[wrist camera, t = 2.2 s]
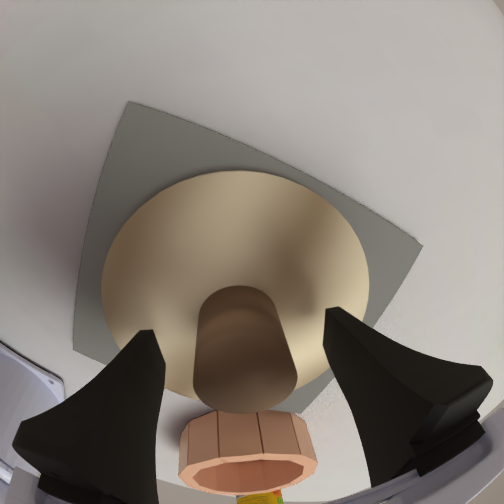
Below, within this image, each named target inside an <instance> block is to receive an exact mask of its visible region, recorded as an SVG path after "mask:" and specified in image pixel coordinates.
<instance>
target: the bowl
mask: <svg viewBox="0 0 504 504" xmlns="http://www.w3.org/2000/svg"><path fill="white" fill-rule="evenodd" d="M317 463H318V462H317V458H316V455H315V452H314V448H313V445H312V442H311V439H310V435H309V432H308V429H307V425H306V422H305V421H303V420H302V419H300V418H299V417H298V416H296V415H295V414H294V413H291V412H283V411H275V410H268V409H267V410H264V411H260V412H255V413H248V414H233V413H226V412H222V411H219V410H218V411H217V410H216V411H213V412H211V413H208V414H206V415H203V416H201V417H198V418H196V419H193V420H191V421H190V422H188V424H187V425H186V427H185V429H184V430H183V432H182V434H181V435H180V452H179V472H178V476H179V477H180V478H181V480H182V481H183V482H184V483H185V484H186V485H187V486H189V487H192V488H195V489H198V490H202V491H205V492H208V493H214V494H225V495H250V494H259V493H267V492H272V491H276V490H279V489H282V488H286V487H289V486H292V485H295V484H297V483H299V482H301V481H302V480H304V479H306V478H307V477H309V476H310V475H312V474H314V472H315V469H316V466H317Z"/></svg>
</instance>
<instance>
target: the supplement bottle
mask: <svg viewBox="0 0 504 504" xmlns="http://www.w3.org/2000/svg"><path fill="white" fill-rule="evenodd" d="M236 500H237V504H283V499H282V494H281V489H279V490H276V491H272V492H267V493H259V494H250V495H236Z"/></svg>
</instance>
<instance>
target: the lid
mask: <svg viewBox="0 0 504 504" xmlns="http://www.w3.org/2000/svg"><path fill="white" fill-rule="evenodd" d="M368 296H369V273H368V266H367V261H366V257H365V253H364V251H363V248H362V246H361V244H360V241H359V239H358V237H357V235H356V234H355V232H354V230H353V229H352V227H351V226H350V224H349V223H348V222H347V220H346V219H345V218H344V217H343V216H342V215H341V213H340V212H339V211H338V210H337V209H336V208H334V207H333V206H332V205H331V204H330V203H329V202H327V201H326V200H325V199H324V198H322V197H321V196H319V195H318V194H316V193H314V192H313V191H311V190H309V189H308V188H306V187H304V186H302V185H300V184H297V183H295V182H293V181H290V180H288V179H285V178H283V177H279V176H275V175H271V174H267V173H263V172H255V171H245V170H233V171H218V172H213V173H207V174H202V175H198V176H195V177H192V178H189V179H186V180H184V181H181V182H178V183H176V184H175V185H173V186H171V187H169V188H167V189H165V190H163V191H161V192H160V193H159V194H157V195H156V196H154V197H153V198H152V199H150V200H149V201H148V202H146V203H145V204H144V205H142V206H141V207H140V208H139V209H138V210H137V211H136V212H135V213H134V214H133V215H132V216H131V217H130V218H129V219H128V220H127V221H126V223H125V224H124V226H123V227H122V228H121V230H120V231H119V233H118V234H117V236H116V237H115V239H114V241H113V243H112V245H111V247H110V250H109V252H108V254H107V258H106V261H105V264H104V268H103V274H102V282H101V297H102V305H103V311H104V316H105V319H106V322H107V325H108V328H109V330H110V332H111V334H112V336H113V338H114V340H115V342H116V344H117V345H118V347H119V348H120V349H121V350H122V349H123V348H124V347H125V346H126V344H127V343H128V342H129V341H130V340H131V339H132V338H133V337H134V336H135V335H136V333H137V332H138V331H139V330H149V329H153V330H154V333H155V336H156V339H157V342H158V344H159V347H160V350H161V352H162V355H163V358H164V360H165V363H166V373H165V385H164V388H166V389H168V390H170V391H173V392H175V393H177V394H180V395H183V396H186V397H189V398H192V399H196V400H201V401H202V402H203V403H205V404H206V405H208V406H209V407H211V408H214V409H216V410H219V411H222V412H226V413H233V414H248V413H255V412H260V411H264V410H267V409H269V408H272V407H274V406H276V405H278V404H279V403H281V402H282V401H284V400H285V399H286V398H287V397H288V396H289V395H290V394H291V393H292V392H293V391H294V390H296V389H298V388H300V387H302V386H304V385H306V384H307V383H309V382H311V381H312V380H314V379H316V378H317V377H318V376H320V375H321V374H322V373H324V372H325V371H326V370H327V369H329V368H330V365H329V363H328V360H327V357H326V354H325V351H324V348H323V345H322V344H323V333H324V321H325V309H326V308H332V307H337V306H339V307H341V308H343V309H344V310H346V311H347V312H349V313H350V314H351V315H353V316H354V317H356V318H357V319H359V320H360V321H362V320H363V317H364V315H365V311H366V307H367V302H368Z"/></svg>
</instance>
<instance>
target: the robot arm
mask: <svg viewBox="0 0 504 504" xmlns="http://www.w3.org/2000/svg"><path fill="white" fill-rule="evenodd" d="M322 345H323V348H324V351H325V354H326V357H327V360H328V363H329V365H330V368H331V370H332V372H333V374H334V376H335V378H336V380H337V382H338V384H339V386H340V388H341V390H342V392H343V394H344V396H345V398H346V400H347V402H348V404H349V406H350V409H351V411H352V414H353V417H354V420H355V423H356V426H357V429H358V432H359V436H360V439H361V442H362V446H363V450H364V454H365V458H366V462H367V466H368V471H369V476H370V482H371V489H368V490H365V491H362V492H360V493H357V494H354V495H351V496H348V497H344V498H341V499H338V500H334V501H331V502H327V503H323V504H380V503H382V502H385V501H386V502H385V503H383V504H467V503H468V502H469V501H470V500H472V499H473V498H474V497H475V496H476V495H478V494H479V493H480V492H481V491H482V490H483V489H484V488H486V487H487V486H488V485H489V484H490V483H491V482H492V481H493V480H494V479H495V478H496V477H497V476H498V475H499V474H500V473H501V472H502V471H503V470H504V408H503V407H500V408H499V409H498V410H496V412H494V413H493V414H492V415H491V416H489V417H488V418H487V419H486V420H484V421H483V422H482V423H481V424H480V423H479V422H478V419H479V418H480V414H479V413H478V411H477V409H478V408H479V406H480V405H481V404H482V402H483V401H484V399H485V398H486V397H487V395H488V394H489V392H490V390H491V388H492V386H493V379H492V378H491V377H490V376H489V375H488V373H487V372H486V371H485V370H484V369H483V368H482V367H481V366H476V365H467V364H460V363H455V362H450V361H446V360H442V359H438V358H435V357H432V356H429V355H426V354H423V353H420V352H417V351H415V350H412V349H410V348H408V347H406V346H403V345H401V344H399V343H397V342H395V341H393V340H391V339H390V338H388V337H386V336H384V335H382V334H381V333H379V332H377V331H376V330H374V329H373V328H371V327H369V326H368V325H366V324H365V323H363V322H362V321H360V320H359V319H357V318H356V317H354V316H353V315H351V314H350V313H349V312H347V311H346V310H344V309H343V308H341V307H339V306H337V307H332V308H326V309H325V321H324V333H323V344H322ZM165 373H166V363H165V360H164V358H163V355H162V352H161V350H160V347H159V344H158V342H157V339H156V336H155V333H154V330H153V329H149V330H139V331H138V332H137V333H136V335H135V336H134V337H133V338H132V339H131V340H130V341H129V342H128V343H127V344H126V346H125V347H124V348H123V349H122V350H121V351H120V352H119V353H118V354H117V355H116V357H115V358H114V359H113V360H112V361H111V362H110V363H109V364H108V365H107V366H106V367H105V368H104V369H103V370H102V371H101V372H100V373H99V374H98V375H97V376H96V377H95V378H93V379H92V380H91V381H90V382H89V383H88V384H86V385H85V386H84V387H83V388H81V389H80V390H79V391H77V392H76V393H75V394H73V395H72V396H70V397H69V398H67V399H66V400H65V393H64V384H63V382H62V381H61V380H60V379H59V378H57V377H55V376H53V375H51V374H49V373H48V372H46V371H44V370H42V369H40V368H39V367H37V366H35V365H34V364H32V363H30V362H29V361H27V360H25V359H24V358H22V357H21V356H19V355H17V354H16V353H14V352H13V351H11V350H10V349H8V348H7V347H5V346H4V345H3V344H1V343H0V504H159V501H158V494H157V484H156V464H155V447H156V430H157V423H158V417H159V412H160V407H161V401H162V396H163V391H164V385H165ZM39 472H40V473H41V476H40V478H38V473H39Z"/></svg>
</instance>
